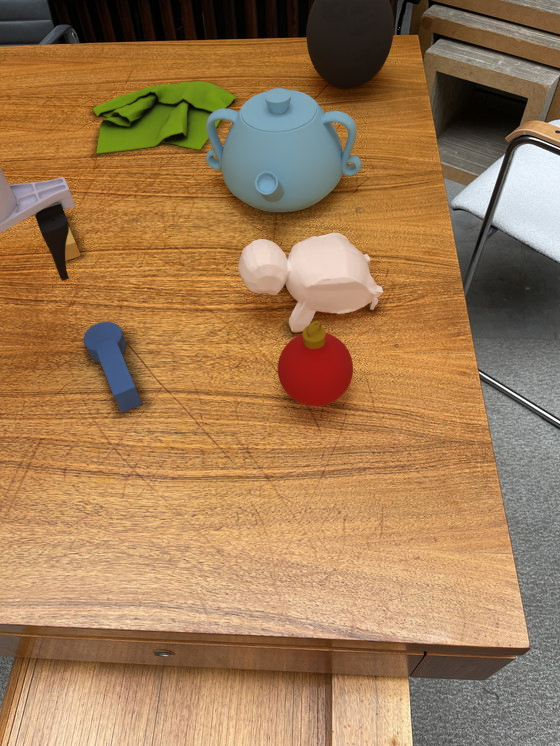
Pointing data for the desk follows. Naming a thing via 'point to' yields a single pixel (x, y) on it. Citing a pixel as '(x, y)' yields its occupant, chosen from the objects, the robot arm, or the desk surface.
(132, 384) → the blue long-handled part
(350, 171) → the teapot
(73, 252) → the block
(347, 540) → the desk surface
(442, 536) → the desk surface
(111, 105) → the cloth
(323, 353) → the christmas ornament
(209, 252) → the desk surface
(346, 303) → the white animal figurine
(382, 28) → the decorative egg
